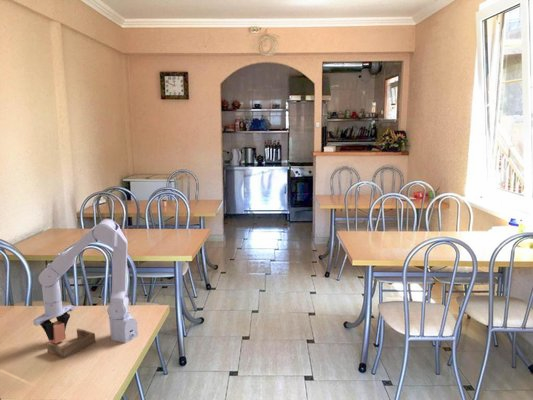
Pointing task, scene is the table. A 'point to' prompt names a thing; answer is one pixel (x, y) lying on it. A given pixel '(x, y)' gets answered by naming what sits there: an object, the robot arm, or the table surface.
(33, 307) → the table surface
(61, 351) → the box
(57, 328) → the block
